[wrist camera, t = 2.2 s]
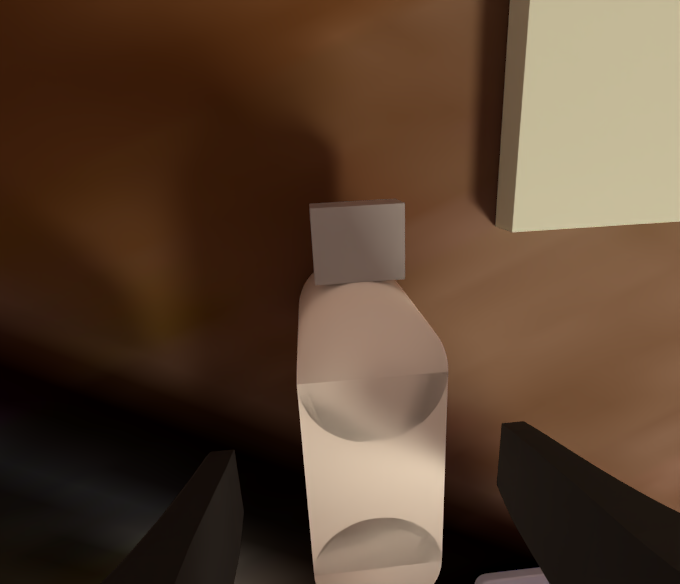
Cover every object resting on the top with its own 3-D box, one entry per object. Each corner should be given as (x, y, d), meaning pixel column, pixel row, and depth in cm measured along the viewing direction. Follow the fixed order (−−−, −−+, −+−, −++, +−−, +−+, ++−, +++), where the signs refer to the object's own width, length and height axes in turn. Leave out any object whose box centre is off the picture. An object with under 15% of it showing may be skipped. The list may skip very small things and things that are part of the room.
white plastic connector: (402, 482, 17) (440, 607, 12) (314, 491, 17) (318, 621, 12) (401, 192, 14) (453, 210, 9) (289, 198, 13) (281, 220, 9)
